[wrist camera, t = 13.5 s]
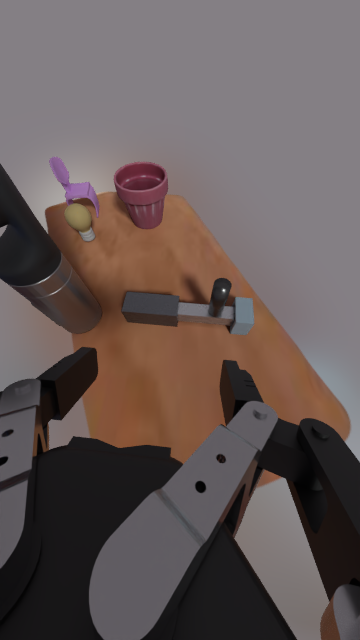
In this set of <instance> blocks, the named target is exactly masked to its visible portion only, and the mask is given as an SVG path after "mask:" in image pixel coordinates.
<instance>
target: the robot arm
mask: <svg viewBox="0 0 360 640" xmlns="http://www.w3.org/2000/svg"><path fill="white" fill-rule="evenodd" d="M5 225H7V228H6V230H5V232H4V233H3V234H2V236H1V237H0V279H2V280H3V281H4V282H6V283H7V284H8V285H10V286H11V287H12V288H13V289H15V290H16V291H17V292H19V293H20V294H21V295H23V296H24V297H25V298H26V299H28V300H29V301H30V302H31V304H32V305H33V306H34V307H36V308H37V309H38V310H40V311H41V312H42V313H43V314H45V315H46V316H47V317H49V318H50V319H51V320H52V321H54V322H55V323H56V324H58V325H59V326H62V327H63V328H65V329H66V330H67V331H69V332H71V333H76V334H78V333H84V332H87V331H89V330H91V329H92V328H94V327H95V326H96V325H97V324H98V322H99V321H100V319H101V316H102V309H101V307H100V305H99V304H98V302H97V301H96V299H95V298H94V296H93V295H92V294H91V292H90V291H89V290H88V288H87V287H86V285H85V284H84V283H83V281H82V280H81V278H80V277H79V276H78V274H77V273H76V272H75V270H74V269H73V267H72V266H71V265H70V263H69V262H68V261H67V259H66V258H65V256H64V255H63V254H62V252H61V251H60V250H59V248H58V247H57V245H56V244H55V243H54V242H53V240H52V239H51V238H50V236H49V235H48V234H47V232H46V231H45V230H44V228H43V227H42V226H41V224H40V223H39V221H38V220H37V219H36V217H35V216H34V214H33V212H32V211H31V209H30V208H29V206H28V205H27V203H26V202H25V200H24V199H23V197H22V196H21V194H20V193H19V191H18V189H17V188H16V186H15V185H14V183H13V182H12V180H11V179H10V177H9V176H8V174H7V173H6V171H5V170H4V168H3V167H2V165H1V164H0V227H3V226H5ZM97 374H98V363H97V351H96V349H95V348H89V347H81V348H80V349H79V350H77V351H76V352H75V353H74V354H71V355H69V356H67V357H64V358H63V359H62V360H60V361H59V362H58V363H56V364H55V365H53V367H51V368H49V369H48V370H47V371H45V372H44V373H43V374H41V375H40V376H39V377H37V378H36V379H25V380H21V381H18V382H15V383H13V384H11V385H9V386H8V387H6V388H5V389H4V391H1V392H0V640H297V639H296V637H295V635H294V634H293V632H292V630H291V629H290V627H289V626H288V624H287V623H286V621H285V619H284V618H283V616H282V614H281V613H280V611H279V610H278V608H277V607H276V605H275V603H274V602H273V600H272V598H271V597H270V595H269V594H268V592H267V590H266V589H265V587H264V586H263V584H262V582H261V581H260V579H259V577H258V576H257V574H256V573H255V571H254V570H253V568H252V566H251V565H250V563H249V561H248V560H247V558H246V557H245V555H244V553H243V552H242V550H241V549H240V547H239V546H238V544H237V542H236V541H235V539H234V538H235V536H236V534H237V531H238V529H239V527H240V524H241V522H242V519H243V516H244V514H245V511H246V508H247V506H248V503H249V501H250V499H251V497H252V495H253V493H254V491H255V489H256V486H257V484H258V482H259V480H260V478H261V476H262V474H263V472H264V469H265V470H267V471H270V472H272V473H274V474H276V475H279V476H281V477H283V478H286V480H287V483H288V486H289V489H290V492H291V495H292V497H293V500H294V503H295V506H296V508H297V511H298V514H299V517H300V520H301V523H302V526H303V528H304V531H305V534H306V537H307V540H308V542H309V546H310V548H311V551H312V554H313V557H314V560H315V563H316V565H317V568H318V571H319V574H320V577H321V580H322V582H323V585H324V588H325V591H326V594H327V597H328V599H329V604H328V606H327V607H326V609H325V611H324V613H323V615H322V617H321V623H320V632H321V640H360V462H359V461H358V460H357V458H356V457H355V455H354V454H353V453H352V452H351V450H350V449H349V448H348V446H347V445H346V443H345V442H344V441H343V439H342V438H341V437H340V435H339V434H338V433H337V432H336V431H335V430H334V429H333V428H332V427H330V426H329V425H327V424H325V423H323V422H321V421H319V420H316V419H311V418H305V419H303V420H301V422H300V424H299V425H296V424H293V423H290V422H287V421H284V420H281V419H279V418H278V416H277V414H276V412H275V411H274V410H273V409H272V408H271V407H270V406H268V405H266V404H264V402H263V400H262V398H261V396H260V394H259V392H258V389H257V387H256V385H255V383H254V381H253V379H252V377H251V375H250V374H249V373H248V372H247V371H246V370H240V369H239V367H238V364H237V362H236V361H231V360H223V364H222V371H221V379H220V395H221V401H222V407H223V412H224V418H225V423H226V427H225V426H224V425H222V424H220V425H219V426H218V427H217V428H216V429H215V430H214V431H213V432H212V433H211V434H210V435H209V437H208V438H207V439H206V440H205V441H204V442H203V443H202V444H201V446H200V447H199V448H198V449H197V450H196V451H195V452H194V453H193V454H192V456H191V457H190V458H189V459H188V460H187V461H186V462H185V463H184V464H182V463H181V462H180V461H178V460H176V459H174V458H172V457H170V454H171V448H168V447H160V446H151V445H142V446H133V447H125V448H117V447H115V446H112V445H110V444H107V443H105V442H103V441H100V440H98V439H92V438H82V437H75V436H73V438H72V439H71V441H70V442H69V444H68V445H65V446H61V447H57V448H53V449H51V450H49V425H48V422H49V421H50V420H51V419H54V420H62V419H63V418H64V416H65V415H66V414H67V413H68V412H69V411H70V409H71V408H72V407H73V406H74V404H75V403H76V402H77V401H78V400H79V399H80V397H81V396H82V395H83V394H84V393H85V391H86V390H87V389H88V388H89V387H90V385H91V384H92V383H93V382H94V381H95V379H96V377H97Z"/></svg>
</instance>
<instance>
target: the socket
mask: <svg viewBox="0 0 360 640" xmlns="http://www.w3.org/2000/svg"><path fill="white" fill-rule="evenodd" d="M232 307H235V321H234V323H233V325H232V326H230V334H240V335H247V333H248V332H249V331H250V329H251V328H252V326H253V325H254V314H253V300H252V298H240V297H235V300H234V302H233V304H232Z"/></svg>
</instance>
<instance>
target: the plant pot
mask: <svg viewBox="0 0 360 640" xmlns="http://www.w3.org/2000/svg"><path fill="white" fill-rule="evenodd" d="M114 183H115V187H116V190H117V194H118V196H119V198H120V199H121V200H123V201H124V203H125V205H126V207H127V210H128V212H129V214H130V216H131V218H132V220H133V222H134V224H135V225H136V226H137V227H139V228H142V229H152V228H155V227H157V226H158V225H159V224H160V223H161V221H162V216H163V208H164V199H165V195H166V194H167V191H168V179H167V173H166V171H165V169H164V168H163V167H161V166H160V165H158V164H155V163H151V162H135V163H130V164H127V165H125V166H123V167H121V168H120V169H118V170H117V171H116V173H115V175H114Z"/></svg>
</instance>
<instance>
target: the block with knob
mask: <svg viewBox="0 0 360 640" xmlns="http://www.w3.org/2000/svg"><path fill="white" fill-rule="evenodd" d="M230 289H231V282H230V281H229V280H227V279H225V278H219V279H217V280H215V282H214V285H213V290H212V295H211V299H210V304H209V305H205V304H193V303H181V302H179V304H178V312H177V321H186V322H197V323H208V324H219V325H230V326H232V325H233V323H234V321H235V307H229V306H225V304H226V301H227V298H228V295H229V292H230Z"/></svg>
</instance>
